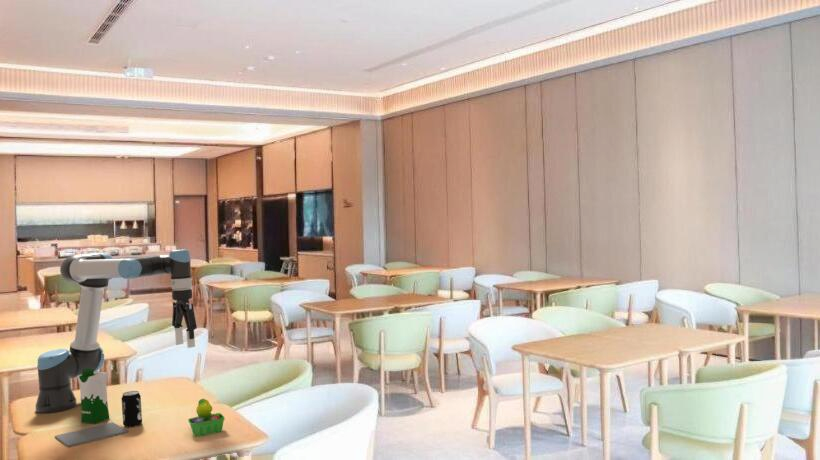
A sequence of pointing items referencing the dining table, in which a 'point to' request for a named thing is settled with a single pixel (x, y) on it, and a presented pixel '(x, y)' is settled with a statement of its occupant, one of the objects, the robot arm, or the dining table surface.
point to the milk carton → (93, 396)
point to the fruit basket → (206, 420)
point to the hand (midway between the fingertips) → (185, 345)
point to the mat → (90, 434)
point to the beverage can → (131, 409)
